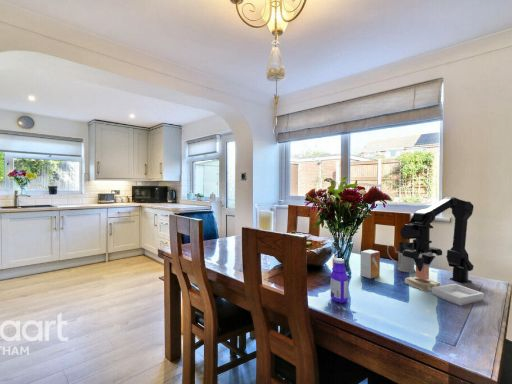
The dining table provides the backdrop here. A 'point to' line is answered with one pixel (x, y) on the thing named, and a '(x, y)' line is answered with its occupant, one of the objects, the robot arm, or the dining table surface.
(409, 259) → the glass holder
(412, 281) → the socket
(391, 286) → the dining table surface
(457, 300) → the parts tray
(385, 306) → the dining table surface
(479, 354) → the dining table surface
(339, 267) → the bottle
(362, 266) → the small box
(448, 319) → the dining table surface
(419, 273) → the block
